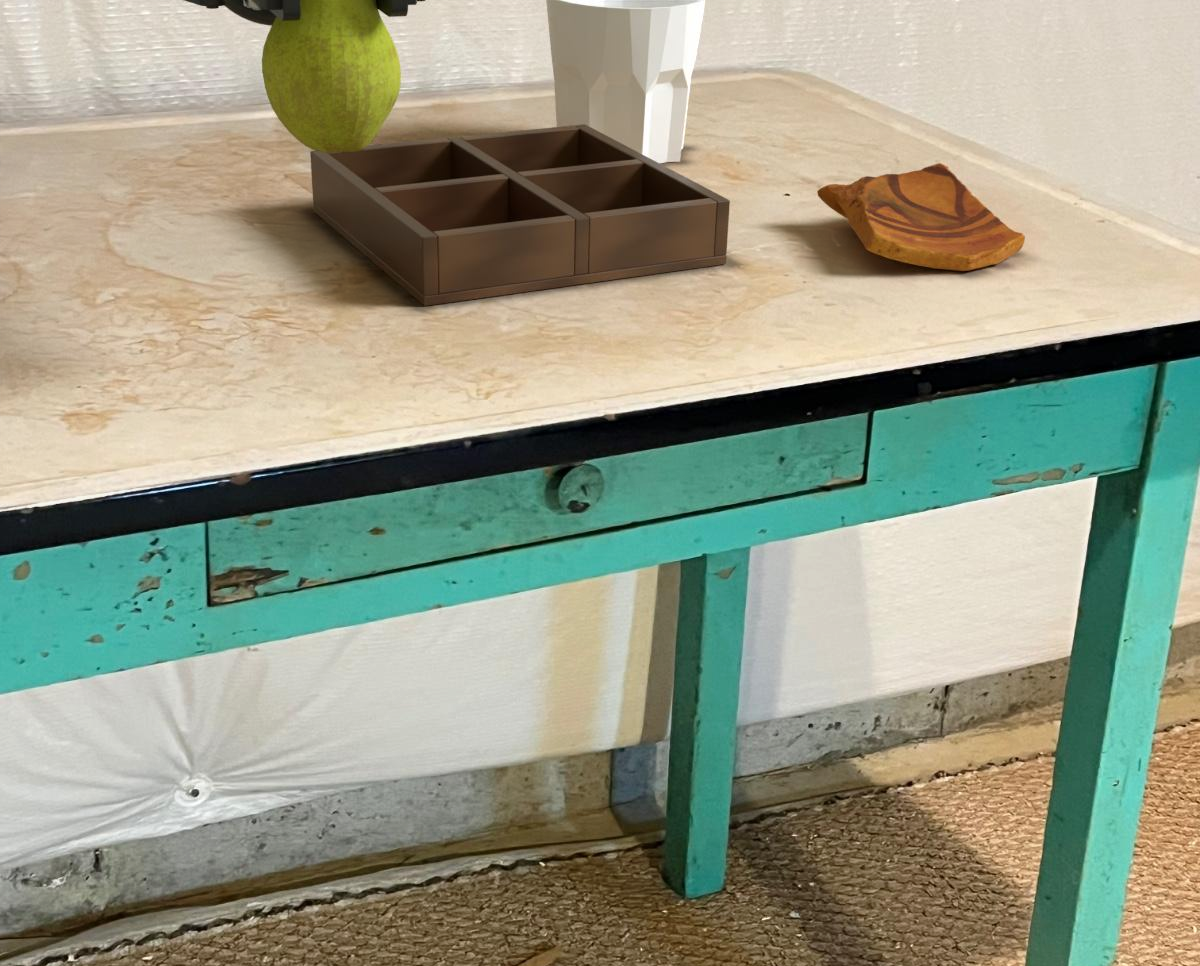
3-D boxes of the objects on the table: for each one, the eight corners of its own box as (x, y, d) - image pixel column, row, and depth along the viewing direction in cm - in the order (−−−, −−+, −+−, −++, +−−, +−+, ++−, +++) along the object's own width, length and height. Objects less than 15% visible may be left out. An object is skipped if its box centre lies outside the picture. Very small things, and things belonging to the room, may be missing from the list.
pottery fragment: (944, 159, 99) (1047, 175, 91) (943, 239, 101) (1045, 261, 92) (791, 178, 96) (883, 196, 87) (793, 260, 98) (883, 285, 89)
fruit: (289, 175, 69) (270, -145, 63) (251, 140, 74) (230, -162, 68) (423, 163, 71) (416, -148, 65) (377, 129, 76) (367, -164, 70)
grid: (424, 306, 84) (422, 237, 83) (313, 211, 98) (309, 150, 96) (726, 264, 91) (730, 200, 90) (584, 181, 105) (585, 124, 103)
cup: (610, 181, 105) (615, 14, 100) (514, 146, 112) (514, -12, 107) (729, 157, 110) (739, -2, 106) (630, 125, 117) (635, -26, 112)
